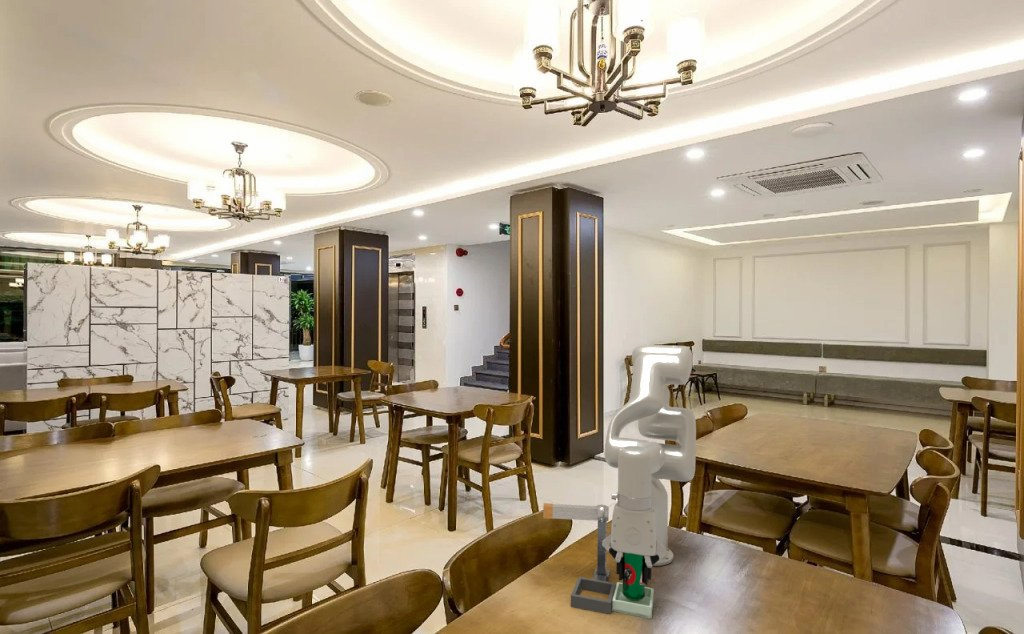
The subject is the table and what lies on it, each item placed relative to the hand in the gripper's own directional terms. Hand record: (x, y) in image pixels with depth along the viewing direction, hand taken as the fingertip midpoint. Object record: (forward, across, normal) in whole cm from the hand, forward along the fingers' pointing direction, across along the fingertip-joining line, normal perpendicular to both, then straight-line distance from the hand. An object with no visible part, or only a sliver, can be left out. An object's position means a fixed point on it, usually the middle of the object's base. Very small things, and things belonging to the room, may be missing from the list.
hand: (633, 578), depth 116 cm
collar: (+6, -9, -1) cm, 11 cm away
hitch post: (+6, -9, +8) cm, 14 cm away
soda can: (+4, 0, 0) cm, 4 cm away
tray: (+6, 0, 0) cm, 6 cm away
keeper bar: (-9, -16, +9) cm, 20 cm away
